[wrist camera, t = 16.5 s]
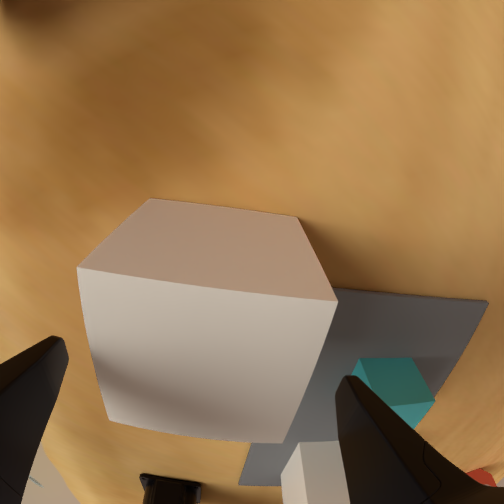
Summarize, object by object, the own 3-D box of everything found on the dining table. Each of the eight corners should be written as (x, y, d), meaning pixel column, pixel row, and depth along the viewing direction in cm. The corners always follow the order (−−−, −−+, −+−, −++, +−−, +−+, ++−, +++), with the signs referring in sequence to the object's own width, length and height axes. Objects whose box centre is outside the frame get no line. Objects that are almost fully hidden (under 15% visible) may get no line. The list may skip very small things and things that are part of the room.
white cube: (345, 471, 24) (357, 528, 18) (280, 474, 24) (285, 536, 17) (373, 437, 21) (393, 504, 15) (299, 442, 21) (309, 517, 14)
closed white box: (270, 334, 17) (282, 443, 10) (149, 318, 16) (109, 420, 10) (296, 216, 14) (338, 301, 8) (149, 198, 13) (76, 267, 7)
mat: (364, 477, 26) (364, 479, 26) (238, 482, 25) (238, 485, 25) (486, 300, 16) (488, 303, 16) (295, 283, 15) (296, 286, 15)
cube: (387, 397, 19) (405, 439, 15) (338, 399, 19) (351, 446, 15) (411, 357, 18) (435, 400, 14) (359, 358, 17) (378, 407, 14)
